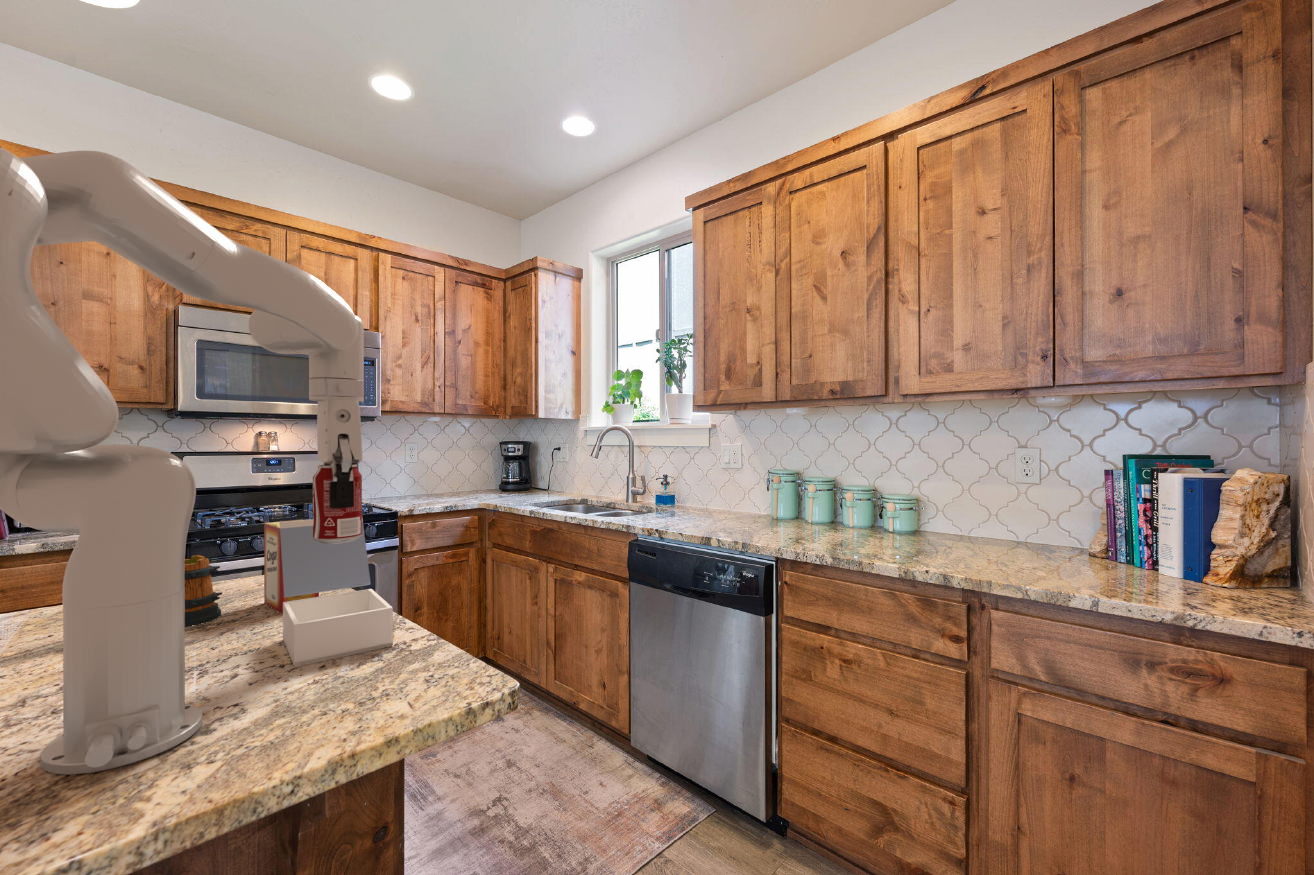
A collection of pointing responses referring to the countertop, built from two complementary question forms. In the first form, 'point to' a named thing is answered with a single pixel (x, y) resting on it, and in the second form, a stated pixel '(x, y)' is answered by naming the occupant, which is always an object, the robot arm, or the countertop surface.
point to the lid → (320, 561)
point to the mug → (200, 591)
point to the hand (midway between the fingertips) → (337, 504)
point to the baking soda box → (275, 569)
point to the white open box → (336, 626)
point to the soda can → (335, 510)
